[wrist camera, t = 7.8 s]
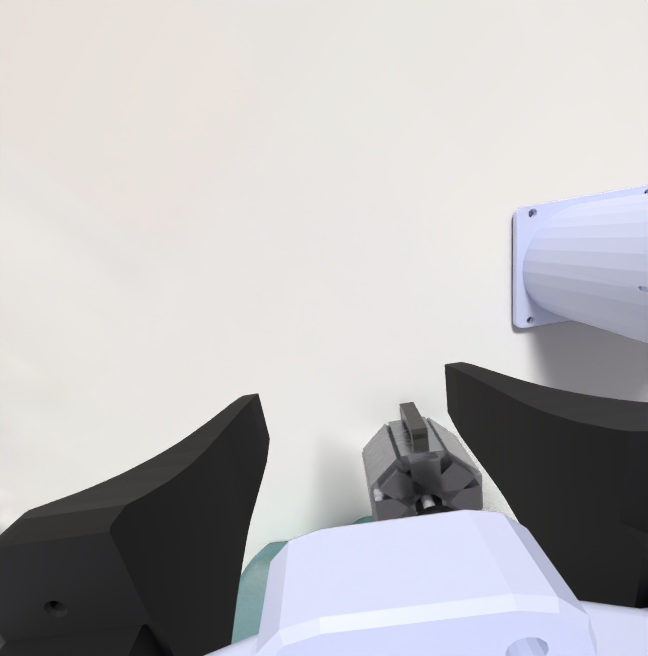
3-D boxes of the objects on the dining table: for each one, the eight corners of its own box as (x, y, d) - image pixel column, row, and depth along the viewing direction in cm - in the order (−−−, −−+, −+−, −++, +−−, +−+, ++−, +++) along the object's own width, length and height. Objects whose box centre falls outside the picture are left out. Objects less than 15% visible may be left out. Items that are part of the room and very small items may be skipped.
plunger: (432, 449, 23) (468, 519, 17) (434, 480, 24) (470, 558, 18) (393, 454, 23) (416, 526, 18) (396, 486, 24) (420, 564, 18)
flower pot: (241, 526, 27) (202, 663, 18) (341, 516, 26) (351, 650, 18) (259, 597, 29) (232, 749, 20) (351, 589, 29) (363, 739, 20)
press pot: (454, 391, 23) (484, 425, 19) (459, 491, 26) (487, 540, 21) (354, 406, 23) (361, 443, 19) (370, 503, 26) (379, 554, 22)
